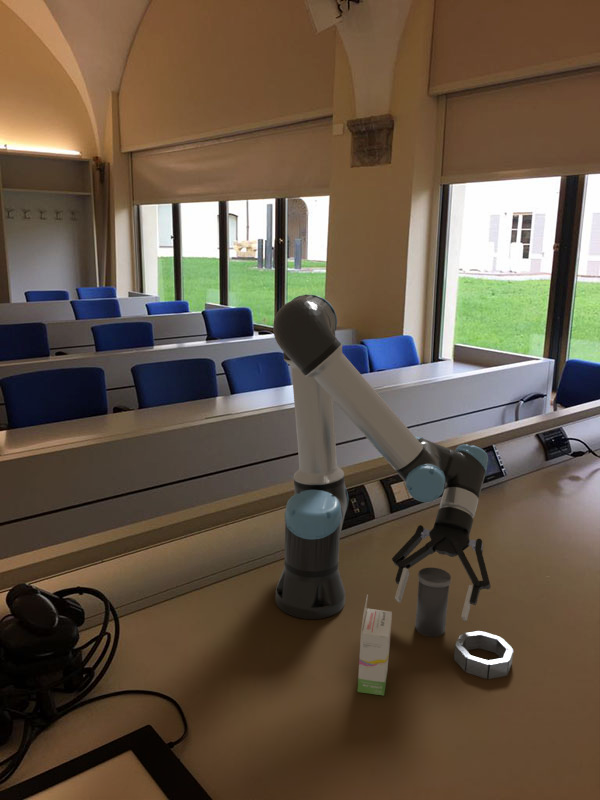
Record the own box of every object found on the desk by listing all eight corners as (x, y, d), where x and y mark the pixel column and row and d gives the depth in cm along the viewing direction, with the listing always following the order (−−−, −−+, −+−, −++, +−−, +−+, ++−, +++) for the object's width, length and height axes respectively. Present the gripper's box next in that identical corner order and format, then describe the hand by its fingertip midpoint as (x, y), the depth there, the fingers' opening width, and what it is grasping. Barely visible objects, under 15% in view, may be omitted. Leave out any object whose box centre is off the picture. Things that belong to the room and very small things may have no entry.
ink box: (385, 697, 117) (390, 621, 113) (356, 692, 118) (360, 617, 114) (388, 667, 125) (393, 595, 122) (362, 663, 126) (366, 591, 123)
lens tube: (409, 631, 137) (414, 578, 134) (419, 616, 142) (424, 564, 139) (440, 641, 134) (445, 586, 131) (449, 625, 139) (454, 572, 136)
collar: (449, 667, 126) (450, 652, 125) (463, 639, 134) (464, 626, 134) (504, 684, 121) (505, 670, 120) (514, 655, 130) (516, 641, 129)
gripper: (517, 533, 141) (494, 632, 132) (403, 508, 153) (375, 598, 143) (515, 518, 136) (491, 621, 126) (397, 494, 147) (367, 586, 137)
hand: (430, 609), depth 135 cm, fingers open, 13 cm apart
